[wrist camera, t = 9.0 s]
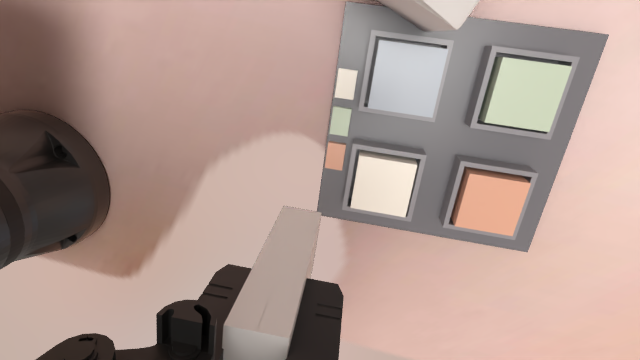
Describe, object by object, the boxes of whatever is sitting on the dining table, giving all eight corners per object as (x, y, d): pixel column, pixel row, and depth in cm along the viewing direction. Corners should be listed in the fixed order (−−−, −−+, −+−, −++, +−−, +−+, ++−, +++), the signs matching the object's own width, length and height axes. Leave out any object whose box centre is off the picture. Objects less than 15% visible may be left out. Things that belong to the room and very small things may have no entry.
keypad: (318, 210, 37) (313, 223, 34) (346, 2, 30) (344, -2, 28) (523, 246, 35) (536, 263, 33) (601, 35, 29) (625, 33, 26)
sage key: (476, 117, 31) (484, 122, 28) (493, 56, 29) (503, 57, 27) (536, 125, 30) (549, 132, 28) (556, 65, 29) (572, 66, 26)
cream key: (351, 197, 35) (350, 207, 32) (360, 148, 33) (359, 155, 31) (403, 206, 34) (405, 217, 32) (414, 156, 32) (417, 164, 30)
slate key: (368, 103, 30) (367, 108, 28) (378, 40, 28) (379, 39, 26) (427, 112, 29) (432, 117, 27) (442, 49, 28) (448, 49, 26)
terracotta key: (449, 214, 34) (454, 226, 32) (463, 164, 32) (469, 173, 30) (503, 223, 33) (512, 236, 31) (520, 173, 32) (531, 183, 29)
